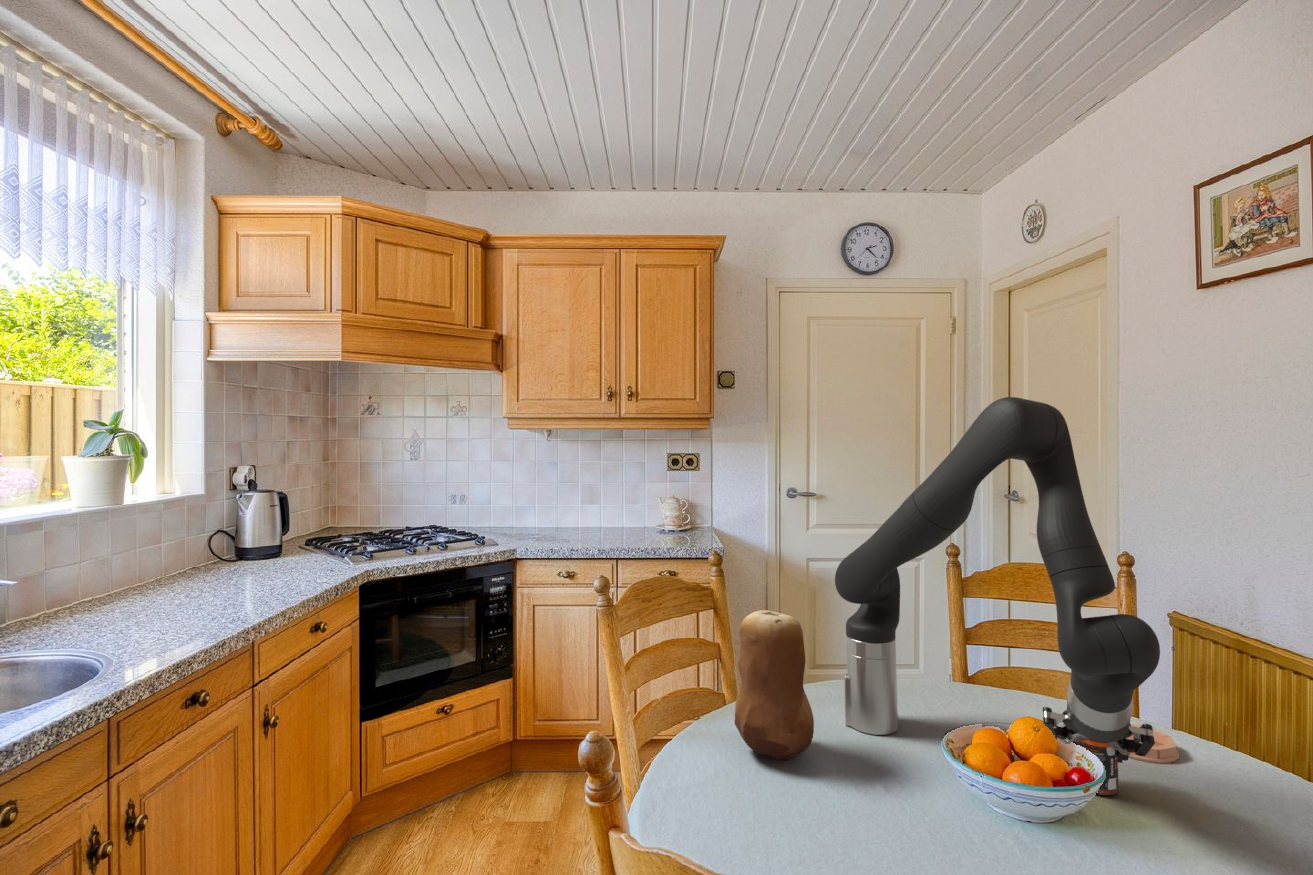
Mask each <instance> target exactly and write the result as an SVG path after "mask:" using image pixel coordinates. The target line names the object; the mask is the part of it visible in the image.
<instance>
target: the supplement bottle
mask: <svg viewBox="0 0 1313 875" xmlns="http://www.w3.org/2000/svg"><path fill="white" fill-rule="evenodd" d="M1073 743H1075V744H1076V745H1080V746H1082V747H1084V748H1086V750H1089V751H1090V752H1091V753H1092V754H1094V755H1096V756H1097V757H1098V758H1099V759H1100V761H1101V762H1102V763H1103V765H1104V766H1105V770H1106V778H1105V780H1104V782H1103V784H1102V785H1101V786H1100V788H1099V790H1098V794H1097V795H1101V796H1113V795H1116V794H1117V793H1118V792H1119V767H1118V766H1119V765H1118V763H1119V762H1118V761H1117V750H1114V749H1113V748H1112V747H1111V746H1110V745H1109V744H1108V743H1103V742H1097V741H1094V740H1091V739H1085V740H1083V741H1081V742H1079V743H1077V742H1073Z"/></svg>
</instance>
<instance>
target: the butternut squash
mask: <svg viewBox="0 0 1313 875" xmlns="http://www.w3.org/2000/svg"><path fill="white" fill-rule="evenodd" d="M804 641H805V640H804V632H803V628H802V625H801V623H800V621H798V620H797V618H795V617H793V616H792V615H788V614H785V613H782V612H781V613H780V612H777V611H773V610H770V609H769V610H767V609H762V610H756V611H754V612H753V611H752V612H751V613H750V614H748V615H747V616H746V617H744V618H743V620H742V621H741V624H740V628H739V644H740V645H739V646H740V647H739V654H740V655H739V659H738V663H737V668H738V672H739V675H740V680H741V681H740V686H739V691H738V692H737V695H736V700H735V706H734V707H735V708H734V725H735V727H736V730H737V731H738V733H739V734H740V737H741V739H742V740H743V741H744V743H745V744H746V745H747V747H749V749H750V750H752V751H753V752H756V753H758V754H761V755H765V756H767V757H770V758H771V759H772V758H773V759H772V760H775V759H780V760H779V761H781V760H782V761H783V760H784V761H788V760H789V759H790V758H792V757H795V756H798V755H800V754H802V753H803V752H805V751H806V750H807V749H808V748H809V746H811V743H812V741H813V738H814V733H815V732H814V730H815V725H814V724H815V721H814V719H815V718H814V714H813V709H812V707H811V704H810V702H809V699H808V696H807V694H806V691H805V689H804V677H805V676H804V674H805V670H806V669H805V668H806V650H805V642H804Z"/></svg>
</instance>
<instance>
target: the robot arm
mask: <svg viewBox="0 0 1313 875" xmlns="http://www.w3.org/2000/svg"><path fill="white" fill-rule="evenodd" d="M1009 459H1012V460H1017V461H1024V463H1025V465H1026V466H1027V468H1028V469H1029V471H1030V473H1031V475H1032V477H1033V480H1034V482H1035V486H1036V489H1037V494H1038V509H1037V518H1036V539H1037V545H1038V549H1039V553H1040V555H1041V559H1042V561H1043V564H1044V566H1045V570H1046V572H1047V575H1048V577H1049V580H1050V583H1051V587H1052V591H1053V596H1054V599H1055V600H1054V602H1055V607H1056V619H1057V621H1056V622H1057V623H1056V624H1057V626H1056V627H1057V630H1056V631H1057V647H1058V651H1059V654H1060V657H1061V659H1062V661H1063V662H1064V663H1065V665H1066V666H1067V667H1068V668H1069V670H1070V671H1071V672H1070V680H1069V683H1068V686H1067V687H1068V688H1067V697H1066V698H1067V699H1066V700H1067V701H1066V709H1065V710H1064V711H1062V713H1058V712H1055V711H1053V709H1052V708H1051V707H1048V706H1043V707H1042V723H1043V725H1044V724H1045V726H1047V727H1048V728H1049V729H1050V730H1051V731H1052V733H1053V735H1055V738H1056V740H1058V739H1059V740H1060V742H1061V741H1062V742H1063V743H1065V744H1070V743H1071V742H1077V743H1079V742H1081V741H1083V740H1085V739H1091V740H1094V741H1097V742H1103V743H1108V744H1109V745H1110V746H1111V747H1112V748H1113V749H1114V750H1117V761H1118V763H1120V764H1123V761H1125V762H1126V761H1128V760H1129V755H1130V753H1131V752H1135V754H1136V755H1138V756H1146V754H1147V753H1148V752H1149V750H1150V749H1151V748H1152V747H1153V745H1154V744H1155V740H1154V734H1153V729H1154V728H1153V725H1151V724H1149V723H1142V724H1141V727H1139V726H1137V727H1134V726H1131V724H1132V723H1131V718H1132V717H1133V714H1134V709H1133V708H1134V699H1133V697H1134V691H1135V690H1136V689H1138V688H1139V687H1140V686H1142V684H1144V682H1145V681H1146V680H1148V679H1149V678H1150V677H1151V676H1152V675H1153V674H1154V672H1155V670H1156V669H1157V667H1158V665H1159V662H1160V658H1161V657H1160V656H1161V649H1160V641H1159V639H1158V636H1157V635H1156V632H1155V631H1154V630H1153V628H1152V627H1151V626H1150V625H1149V624H1148V623H1147V622H1146V621H1144V620H1143V619H1141V618H1140V617H1138V616H1135V615H1133V614H1127V613H1125V614H1124V613H1120V614H1119V613H1118V614H1117V613H1116V614H1110V615H1101V616H1091V617H1082V606H1083V605H1085V604H1086V603H1088V602H1091V601H1094V600H1098V599H1101V598H1104V597H1106V596H1108V595H1110V594H1112V593H1113V592H1114V591H1115V588H1116V582H1115V580H1114V576H1113V573H1112V572H1111V569H1110V566H1109V564H1108V561H1107V559H1106V557H1105V554H1104V551H1103V549H1102V547H1101V545H1100V543H1099V540H1098V537H1097V535H1096V532H1095V530H1094V527H1093V524H1092V522H1091V518H1090V515H1089V512H1088V508H1087V505H1086V502H1085V498H1084V494H1083V490H1082V485H1081V480H1080V476H1079V472H1078V468H1077V463H1076V462H1077V461H1076V459H1075V453H1074V449H1073V444H1072V439H1071V434H1070V431H1069V426H1068V424H1067V421H1066V419H1065V417H1064V415H1063V414H1062V412H1061V411H1060V410H1058V409H1057V408H1056V407H1054V406H1052V405H1051V404H1048V403H1044V402H1040V401H1036V400H1030V399H1026V398H1020V397H1016V396H1008V397H1007V396H1006V397H1002V398H999V399H996V400H995V401H993V402H991V403H990V404H989V405H988V406H986V407H985V408H984V409H983V410H982V411H981V412H980V413H979V415H978V416H977V417H976V419H975V420H974V421H973V423H972V424H971V425H970V426H969V427H968V428H967V430H966V432H965V433H964V434H963V436H962V437H961V438H960V440H959V441H958V442H957V444H956V445H955V446H954V447H953V449H952V450H951V451H950V453H948V455H947V456H946V457H945V458H944V459H943V460H942V461H941V462H940V464H938V466H937V467H936V468H935V469H934V470H933V471H932V473H931V474H930V475H929V476H928V477H927V478H926V479H924V481H923V482H921V484H920V485H919V486H918V487H917V488H915V489H914V491H912V493H911V494H910V495H908V497H906V498H905V500H904V501H903V502H902V503H901V505H900V506H899V507H898V508H897V509H896V510H895V511H894V512H893V513H892V514H891V515H890V516H889V517H888V518H887V519H886V520H885V521H884V522H883V524H881V525H880V526H879V528H878V529H877V530H876V531H875V532H874V533H873V534H872V535H871V536H870V537H869V538H868V539H867V540H866V541H864V542H863V543H862V544H861V545H860V546H858V547H857V548H856V549H854V550H852V552H850V553H849V554H848V555H847V556H846V557H844V559H842V560H841V562H840V563H839V564H838V566H837V569H836V571H835V573H834V574H835V575H834V585H835V589H836V591H837V593H838V595H839V596H840V597H841V598H842V599H843V600H844V601H846V602H849V603H850V604H851V603H852V604H857V605H859V607H858V609H857V610H856V611H855V612H854V613H853V614H852V615H851V616H850V617H848V618H847V620H846V622H845V640H846V641H845V642H846V645H845V646H846V648H845V650H846V674H845V675H844V679H843V681H844V713H845V714H844V715H845V716H844V717H845V722H844V723H845V726H847V727H851V728H853V729H855V730H857V731H859V732H861V733H864V734H870V735H874V736H875V735H876V736H877V735H879V736H883V735H885V736H887V735H890V734H894V733H895V732H897V731H898V729H899V722H898V721H899V713H898V711H899V710H898V679H897V677H898V676H897V643H896V641H897V639H896V634H897V633H896V632H897V631H896V630H897V628H898V626H899V623H900V616H901V615H900V614H901V613H900V612H901V611H900V610H901V579H900V573H899V570H898V568H899V567H901V566H902V565H905V564H906V563H908V562H909V561H912V560H914V559H916V558H918V557H920V556H922V555H924V554H926V553H928V552H930V551H932V550H933V549H934V548H936V547H937V546H939V545H940V544H942V543H943V542H944V541H946V540H947V539H948V538H950V536H952V535H953V534H954V533H955V532H956V531H957V530H958V529H959V528H960V527H961V526H962V525H963V524H964V523H965V522H966V520H967V519H968V518H969V515H970V514H971V511H972V508H973V504H974V499H975V495H976V492H977V488H978V486H979V485H980V484H981V483H982V482H983V480H985V478H986V477H987V476H989V475H990V474H991V472H992V471H994V470H995V469H996V468H997V467H999V466H1000V465H1001V464H1002V463H1004V462H1005V461H1007V460H1009ZM1060 723H1063V724H1060ZM1059 725H1060V726H1059ZM1131 735H1134V737H1133V740H1132V739H1128V737H1130V736H1131ZM1066 740H1068V742H1067V741H1066Z"/></svg>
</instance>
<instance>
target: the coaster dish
mask: <svg viewBox="0 0 1313 875" xmlns="http://www.w3.org/2000/svg"><path fill="white" fill-rule="evenodd" d="M1130 724H1131V726H1134V727H1137V726H1139V727H1141V725H1142V724H1141V725H1140V724H1134V723H1130ZM1153 734H1154V740H1155V744H1154V745H1153V747H1152V748H1151V749H1150V750H1149V752H1148V753H1147V754H1146V756H1138V755H1136V754H1135V752H1131V753H1130V755H1129V757H1128V759H1133V760H1137V761H1141V762H1147V763H1151V764H1171V763H1175V762H1177V761H1179V759H1180V751H1179V750H1178V746H1177V743H1176V742H1175V740H1174V738H1173V736H1171V735H1169V734H1166V733H1165V732H1162V731H1159V730H1157V729H1155V728H1153ZM1133 737H1134V735H1131V736H1130V737H1128V739H1132V740H1133Z"/></svg>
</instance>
